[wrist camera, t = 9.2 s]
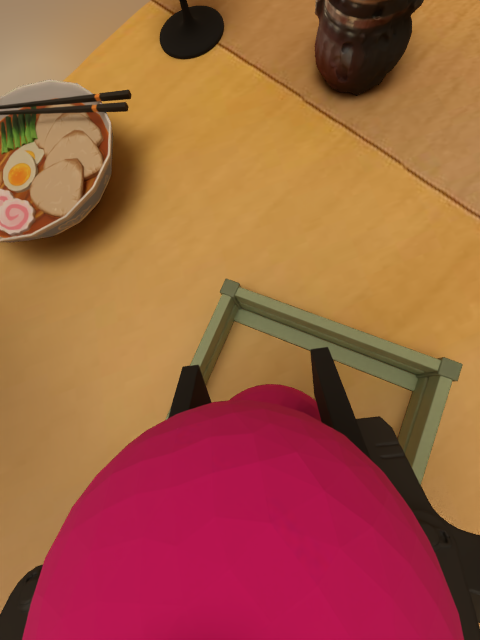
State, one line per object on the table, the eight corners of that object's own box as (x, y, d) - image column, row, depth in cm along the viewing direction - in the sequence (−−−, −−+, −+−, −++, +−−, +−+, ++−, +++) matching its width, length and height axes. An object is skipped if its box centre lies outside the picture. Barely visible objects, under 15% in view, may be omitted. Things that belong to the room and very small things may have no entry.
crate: (170, 437, 33) (149, 444, 28) (234, 294, 36) (225, 278, 31) (378, 545, 28) (398, 579, 23) (434, 368, 31) (463, 363, 26)
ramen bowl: (-31, 262, 43) (-101, 233, 35) (15, 129, 48) (-38, 77, 40) (130, 273, 39) (90, 242, 31) (162, 125, 44) (135, 66, 36)
